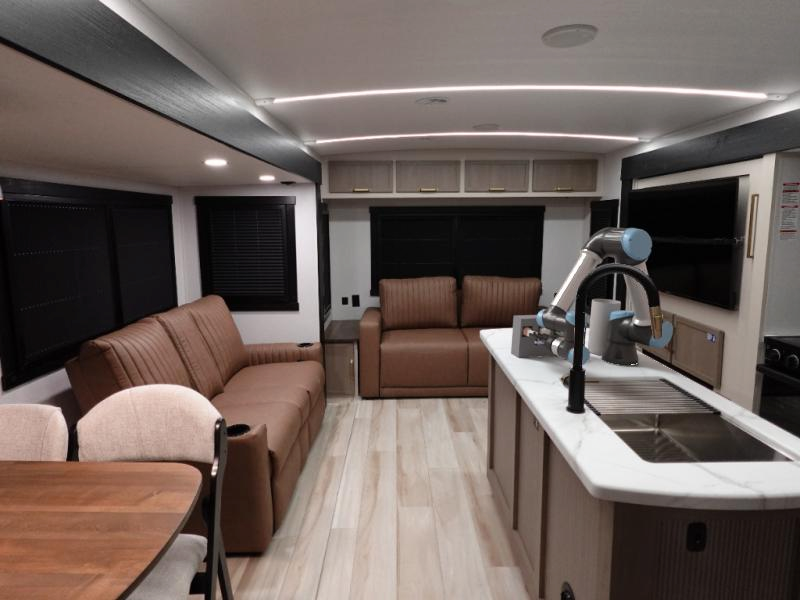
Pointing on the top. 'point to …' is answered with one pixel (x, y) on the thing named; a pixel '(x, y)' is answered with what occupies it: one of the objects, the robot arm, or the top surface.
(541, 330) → the cream button
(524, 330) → the terracotta button
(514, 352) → the console
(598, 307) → the cylinder vase
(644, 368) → the top surface
